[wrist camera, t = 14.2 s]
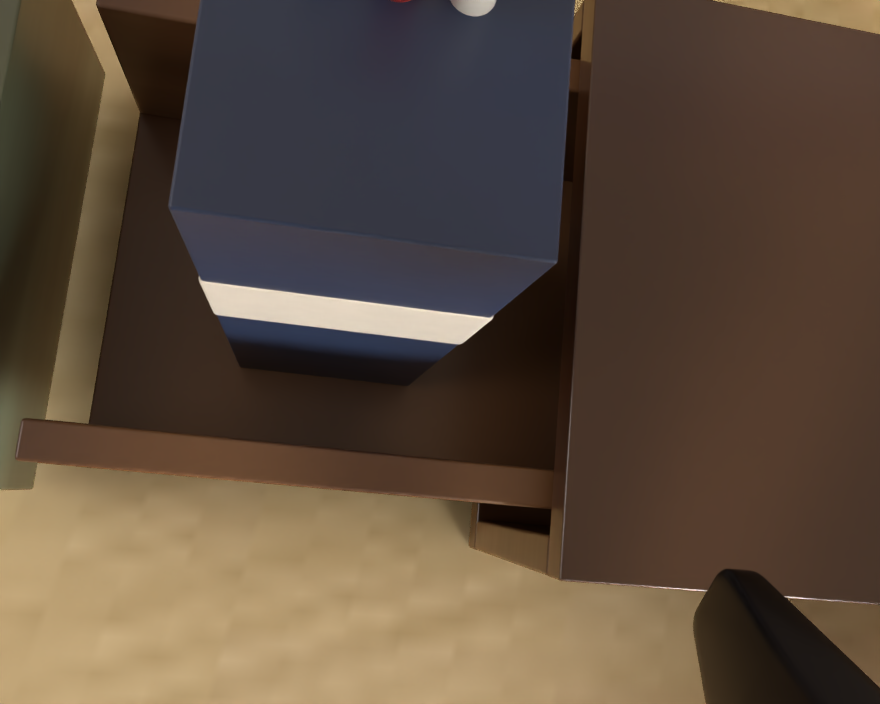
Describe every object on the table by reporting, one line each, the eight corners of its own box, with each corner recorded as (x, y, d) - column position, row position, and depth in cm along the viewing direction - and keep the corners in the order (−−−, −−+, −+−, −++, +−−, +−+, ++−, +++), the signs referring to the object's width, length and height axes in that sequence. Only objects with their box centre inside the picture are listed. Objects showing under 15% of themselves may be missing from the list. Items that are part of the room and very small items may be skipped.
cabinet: (468, 547, 23) (559, 581, 15) (501, 133, 25) (597, -24, 17) (977, 588, 26) (1279, 635, 18) (968, 211, 28) (1233, 104, 20)
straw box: (409, 387, 21) (649, 195, 7) (237, 368, 21) (117, 112, 6) (425, 226, 22) (670, -242, 8) (260, 202, 22) (196, -361, 7)
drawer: (-70, 480, 20) (-229, 480, 14) (13, 58, 22) (-93, -106, 16) (573, 535, 23) (677, 555, 17) (596, 154, 25) (696, 46, 19)
